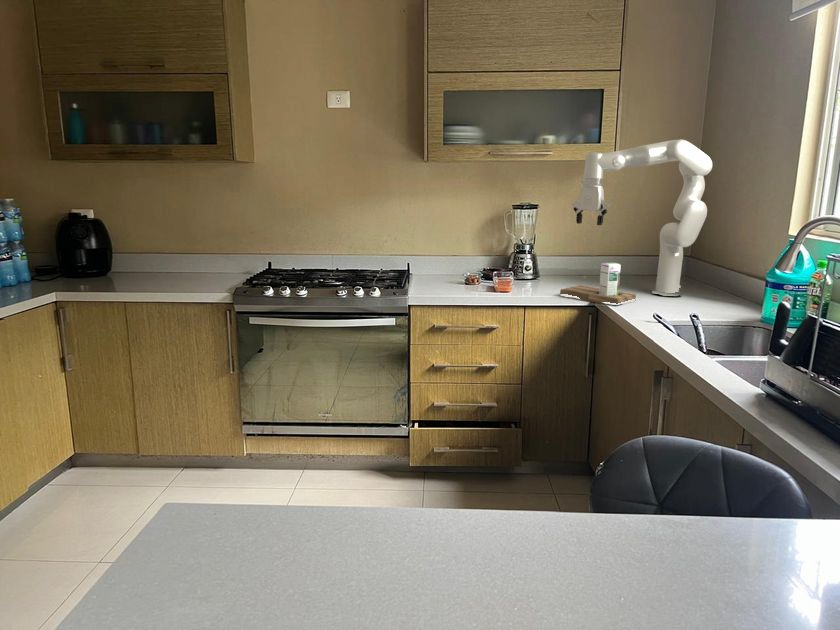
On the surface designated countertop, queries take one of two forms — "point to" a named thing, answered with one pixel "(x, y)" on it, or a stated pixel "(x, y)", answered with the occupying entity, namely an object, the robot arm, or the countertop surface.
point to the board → (596, 295)
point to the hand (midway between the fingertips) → (589, 224)
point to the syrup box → (609, 279)
